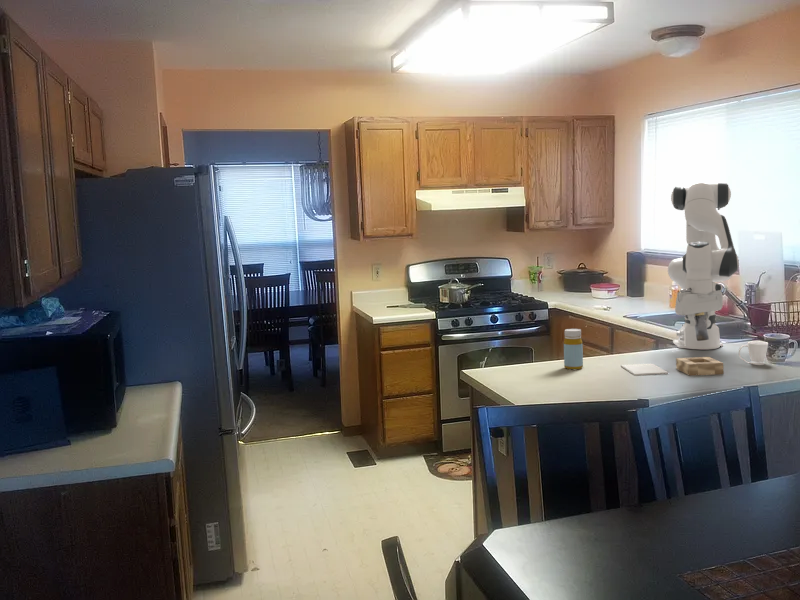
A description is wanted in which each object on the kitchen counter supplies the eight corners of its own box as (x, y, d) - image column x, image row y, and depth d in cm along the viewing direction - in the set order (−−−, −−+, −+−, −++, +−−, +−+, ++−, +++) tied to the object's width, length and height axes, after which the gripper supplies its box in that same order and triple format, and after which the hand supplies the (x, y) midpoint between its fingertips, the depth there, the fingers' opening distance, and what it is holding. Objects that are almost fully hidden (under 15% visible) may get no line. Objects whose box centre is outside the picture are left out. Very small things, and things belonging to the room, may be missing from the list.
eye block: (676, 368, 251) (676, 358, 250) (708, 367, 251) (708, 356, 250) (689, 375, 239) (689, 364, 238) (723, 374, 239) (723, 363, 238)
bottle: (581, 366, 264) (580, 328, 262) (584, 369, 257) (583, 331, 255) (563, 366, 264) (562, 328, 263) (565, 370, 258) (564, 331, 256)
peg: (695, 340, 245) (690, 313, 245) (706, 338, 245) (701, 311, 245) (699, 341, 241) (694, 313, 241) (710, 339, 241) (706, 311, 241)
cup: (770, 365, 248) (770, 344, 248) (740, 365, 251) (740, 344, 250) (765, 361, 255) (766, 340, 254) (736, 361, 258) (736, 340, 257)
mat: (621, 366, 259) (621, 365, 259) (652, 365, 259) (652, 363, 259) (634, 375, 243) (634, 373, 243) (668, 374, 243) (668, 372, 243)
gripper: (685, 290, 234) (685, 329, 236) (726, 285, 243) (726, 323, 245) (670, 289, 240) (671, 327, 242) (711, 284, 249) (711, 321, 250)
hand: (699, 325), depth 243 cm, fingers closed on peg, 4 cm apart
